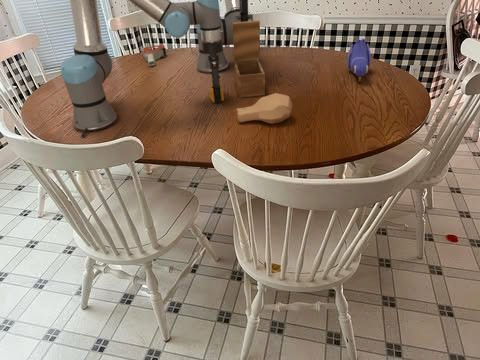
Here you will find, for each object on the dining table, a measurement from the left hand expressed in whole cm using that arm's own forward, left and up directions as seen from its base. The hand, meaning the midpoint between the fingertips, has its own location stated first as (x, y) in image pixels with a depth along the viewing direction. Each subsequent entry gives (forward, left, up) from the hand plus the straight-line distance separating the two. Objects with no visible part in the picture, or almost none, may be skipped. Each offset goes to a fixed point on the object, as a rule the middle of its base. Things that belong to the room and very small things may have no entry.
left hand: (217, 98), depth 145 cm
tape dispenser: (+56, +39, 0) cm, 68 cm away
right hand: (+20, -12, +21) cm, 32 cm away
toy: (+18, -61, 0) cm, 64 cm away
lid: (+15, -13, +18) cm, 26 cm away
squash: (-21, -18, 0) cm, 28 cm away
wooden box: (+9, -13, 0) cm, 16 cm away
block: (0, 0, 0) cm, 0 cm away
